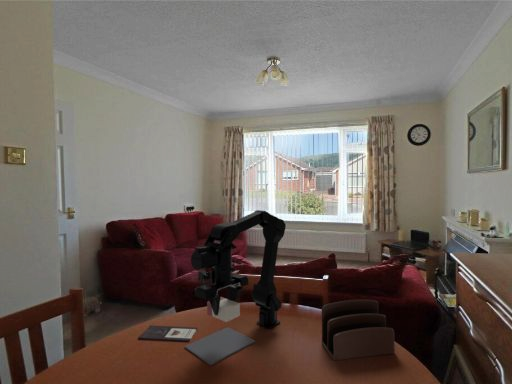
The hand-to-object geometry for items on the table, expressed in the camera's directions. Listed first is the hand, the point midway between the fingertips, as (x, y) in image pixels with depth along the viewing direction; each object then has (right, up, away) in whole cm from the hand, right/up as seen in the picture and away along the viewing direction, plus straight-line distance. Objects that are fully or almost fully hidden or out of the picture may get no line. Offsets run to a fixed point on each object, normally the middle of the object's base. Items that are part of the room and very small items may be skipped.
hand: (223, 311), depth 100 cm
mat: (-1, -11, +1) cm, 11 cm away
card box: (0, -1, 0) cm, 1 cm away
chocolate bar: (-20, -12, +9) cm, 25 cm away
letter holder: (+43, -11, -2) cm, 44 cm away
